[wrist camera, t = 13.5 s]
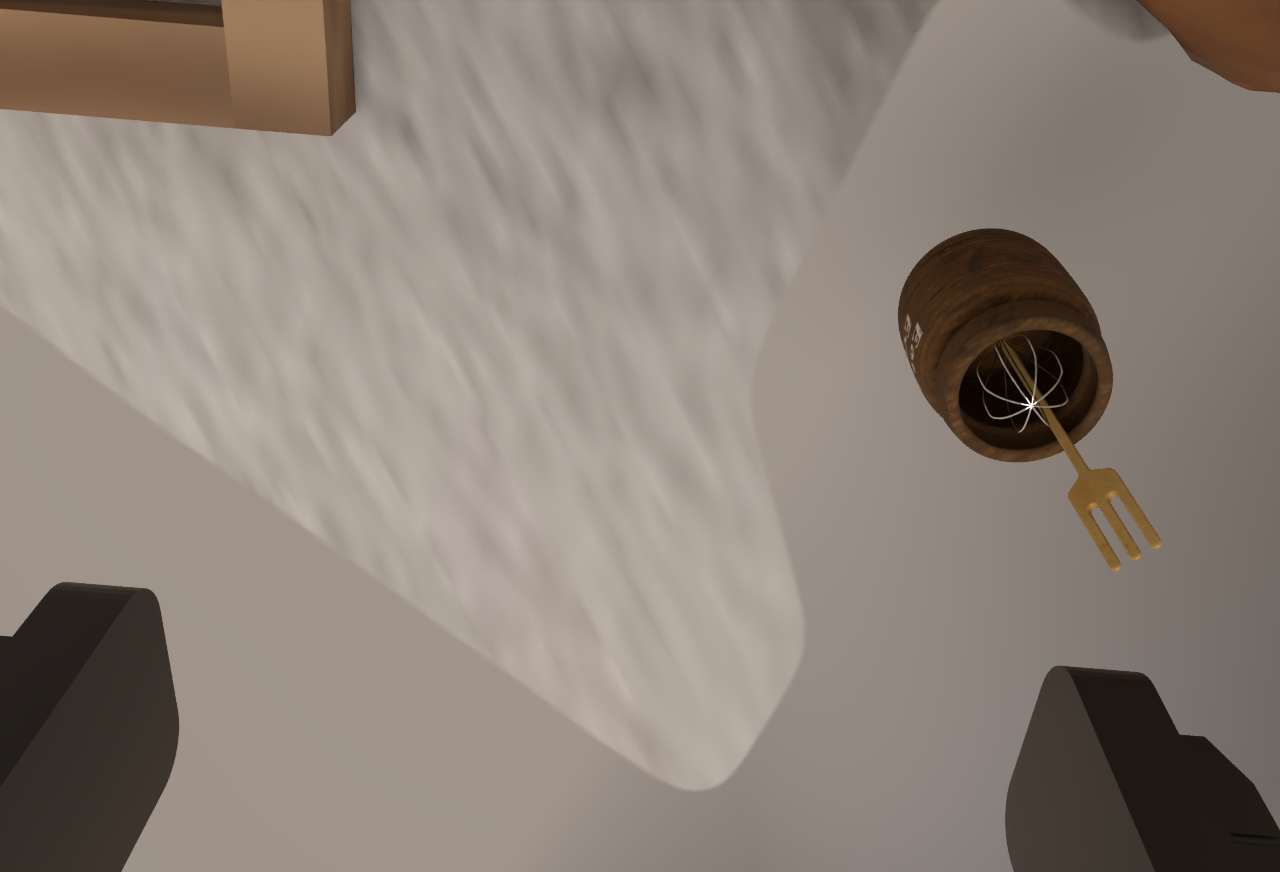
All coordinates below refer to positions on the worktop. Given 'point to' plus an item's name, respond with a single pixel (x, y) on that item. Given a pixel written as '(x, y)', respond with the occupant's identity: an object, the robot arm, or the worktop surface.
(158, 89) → the wooden tray
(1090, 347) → the utensil holder
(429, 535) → the worktop surface
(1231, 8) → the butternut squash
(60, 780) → the robot arm
